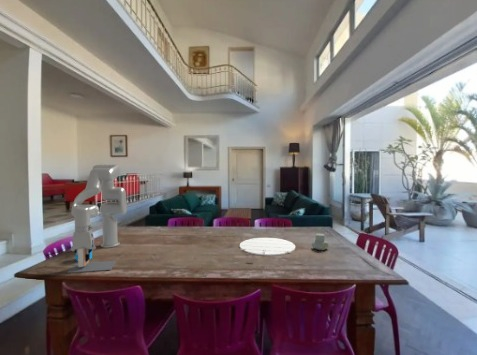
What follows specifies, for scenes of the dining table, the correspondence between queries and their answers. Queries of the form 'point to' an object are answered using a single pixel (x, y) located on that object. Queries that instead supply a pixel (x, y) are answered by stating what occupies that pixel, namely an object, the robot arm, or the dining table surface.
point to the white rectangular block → (82, 257)
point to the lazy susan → (267, 246)
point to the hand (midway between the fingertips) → (83, 260)
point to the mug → (77, 255)
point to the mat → (93, 267)
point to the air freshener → (320, 242)
